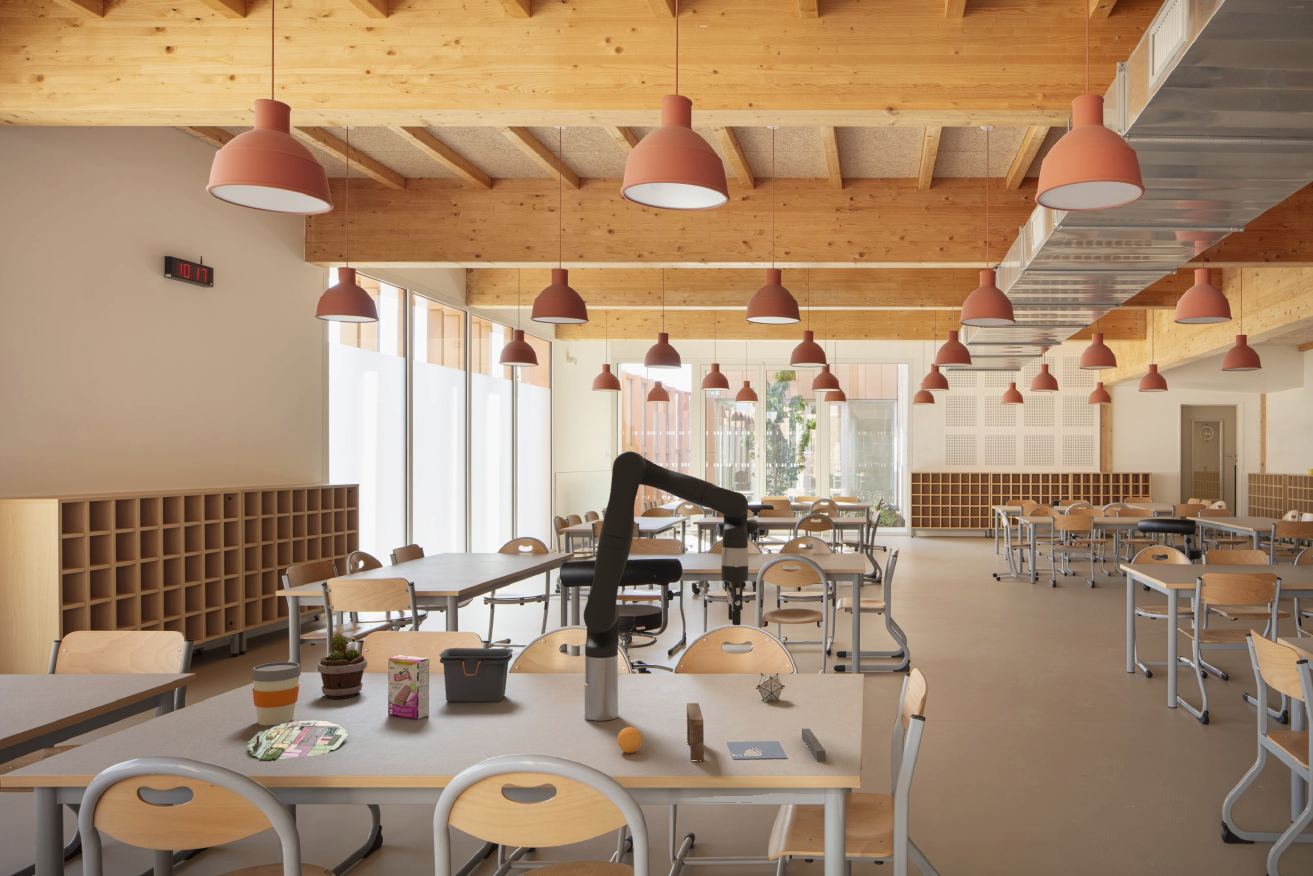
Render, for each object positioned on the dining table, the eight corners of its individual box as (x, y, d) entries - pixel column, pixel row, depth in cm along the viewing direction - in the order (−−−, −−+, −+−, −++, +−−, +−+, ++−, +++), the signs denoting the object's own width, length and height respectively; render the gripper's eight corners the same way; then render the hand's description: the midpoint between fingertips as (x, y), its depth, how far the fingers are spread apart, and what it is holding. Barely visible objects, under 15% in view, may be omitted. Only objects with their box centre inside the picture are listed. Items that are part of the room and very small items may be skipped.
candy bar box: (386, 716, 243) (387, 657, 244) (399, 711, 248) (399, 654, 249) (417, 720, 239) (418, 661, 239) (429, 716, 243) (430, 657, 244)
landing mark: (732, 759, 203) (732, 758, 203) (726, 742, 216) (726, 742, 216) (787, 758, 204) (787, 757, 204) (778, 742, 217) (778, 741, 217)
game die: (773, 715, 255) (775, 693, 249) (749, 701, 259) (750, 679, 254) (789, 695, 261) (791, 673, 255) (765, 682, 265) (766, 660, 260)
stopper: (816, 761, 201) (816, 750, 201) (801, 738, 219) (801, 728, 219) (825, 761, 201) (825, 750, 201) (809, 738, 219) (809, 728, 219)
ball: (617, 756, 206) (617, 731, 206) (617, 748, 212) (617, 724, 212) (642, 756, 206) (641, 731, 206) (641, 748, 212) (641, 723, 212)
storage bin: (514, 693, 269) (514, 647, 269) (507, 706, 253) (507, 657, 254) (446, 694, 268) (446, 647, 269) (434, 707, 253) (434, 658, 253)
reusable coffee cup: (240, 724, 236) (241, 669, 236) (275, 713, 247) (275, 660, 248) (276, 729, 231) (277, 672, 232) (309, 717, 243) (310, 663, 244)
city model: (238, 777, 200) (239, 752, 200) (242, 738, 222) (243, 715, 221) (351, 764, 210) (352, 740, 210) (345, 728, 232) (346, 706, 231)
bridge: (691, 761, 202) (690, 719, 202) (687, 742, 217) (686, 703, 217) (703, 761, 202) (703, 719, 203) (698, 742, 217) (698, 703, 217)
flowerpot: (373, 696, 266) (374, 631, 267) (322, 704, 257) (322, 636, 258) (360, 687, 278) (361, 625, 279) (311, 694, 269) (311, 629, 270)
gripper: (718, 561, 246) (717, 618, 245) (724, 566, 232) (723, 626, 231) (744, 561, 246) (744, 618, 246) (752, 566, 232) (751, 626, 231)
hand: (734, 622), depth 238 cm, fingers open, 8 cm apart
